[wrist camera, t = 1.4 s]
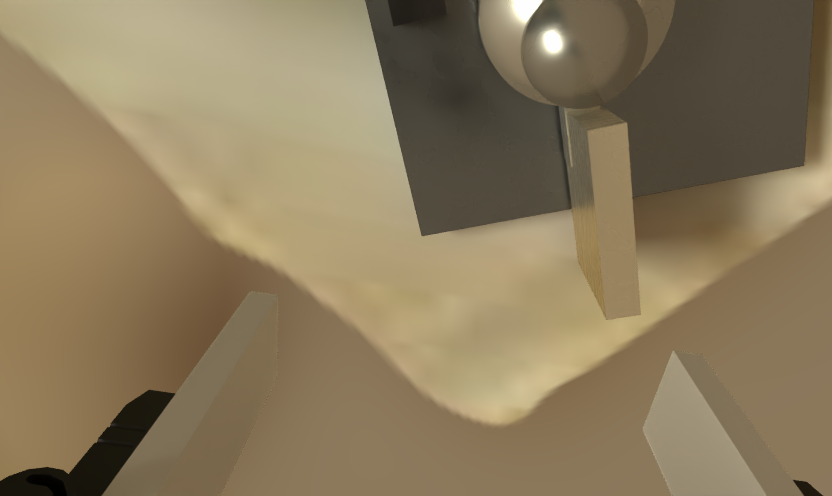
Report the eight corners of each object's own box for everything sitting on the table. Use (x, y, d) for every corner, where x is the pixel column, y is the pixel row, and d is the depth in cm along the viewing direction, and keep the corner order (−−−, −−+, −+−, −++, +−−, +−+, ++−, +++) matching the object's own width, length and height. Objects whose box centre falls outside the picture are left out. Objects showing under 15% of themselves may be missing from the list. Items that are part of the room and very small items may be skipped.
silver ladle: (462, -67, 24) (465, -90, 18) (650, -117, 22) (714, -158, 17) (519, 271, 30) (533, 330, 25) (666, 246, 29) (717, 302, 23)
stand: (335, -152, 25) (308, -189, 20) (802, -294, 22) (894, -374, 17) (423, 223, 32) (418, 258, 27) (782, 155, 29) (844, 182, 24)
